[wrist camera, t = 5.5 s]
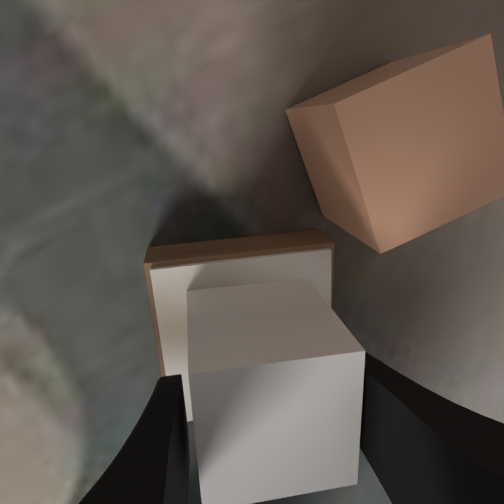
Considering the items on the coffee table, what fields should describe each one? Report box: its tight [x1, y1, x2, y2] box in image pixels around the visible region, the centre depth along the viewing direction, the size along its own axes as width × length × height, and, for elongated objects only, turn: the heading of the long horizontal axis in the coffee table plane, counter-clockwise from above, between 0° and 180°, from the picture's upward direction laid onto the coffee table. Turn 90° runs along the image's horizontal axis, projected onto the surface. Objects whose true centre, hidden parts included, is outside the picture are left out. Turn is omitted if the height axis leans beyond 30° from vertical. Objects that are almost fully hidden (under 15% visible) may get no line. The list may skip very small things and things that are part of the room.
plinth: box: [144, 229, 335, 422], centre depth 16 cm, size 7×7×2 cm
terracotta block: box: [285, 33, 504, 254], centre depth 13 cm, size 4×4×5 cm
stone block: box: [186, 278, 365, 504], centre depth 13 cm, size 4×4×5 cm
